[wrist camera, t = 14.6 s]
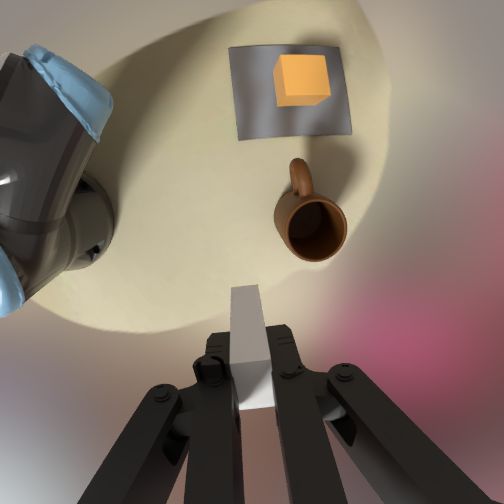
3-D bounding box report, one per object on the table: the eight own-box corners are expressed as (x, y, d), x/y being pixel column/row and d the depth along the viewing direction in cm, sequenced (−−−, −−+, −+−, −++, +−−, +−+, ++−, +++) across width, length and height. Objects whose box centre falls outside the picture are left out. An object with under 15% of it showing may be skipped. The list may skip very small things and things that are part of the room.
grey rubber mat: (238, 140, 36) (239, 135, 29) (228, 49, 32) (227, 27, 24) (350, 134, 36) (373, 130, 29) (337, 48, 32) (356, 29, 25)
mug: (258, 165, 37) (265, 165, 28) (311, 152, 37) (334, 151, 28) (279, 246, 41) (291, 271, 32) (328, 233, 41) (353, 253, 32)
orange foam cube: (272, 71, 32) (280, 54, 25) (310, 71, 32) (324, 55, 26) (277, 106, 33) (285, 95, 27) (315, 105, 33) (330, 95, 27)
